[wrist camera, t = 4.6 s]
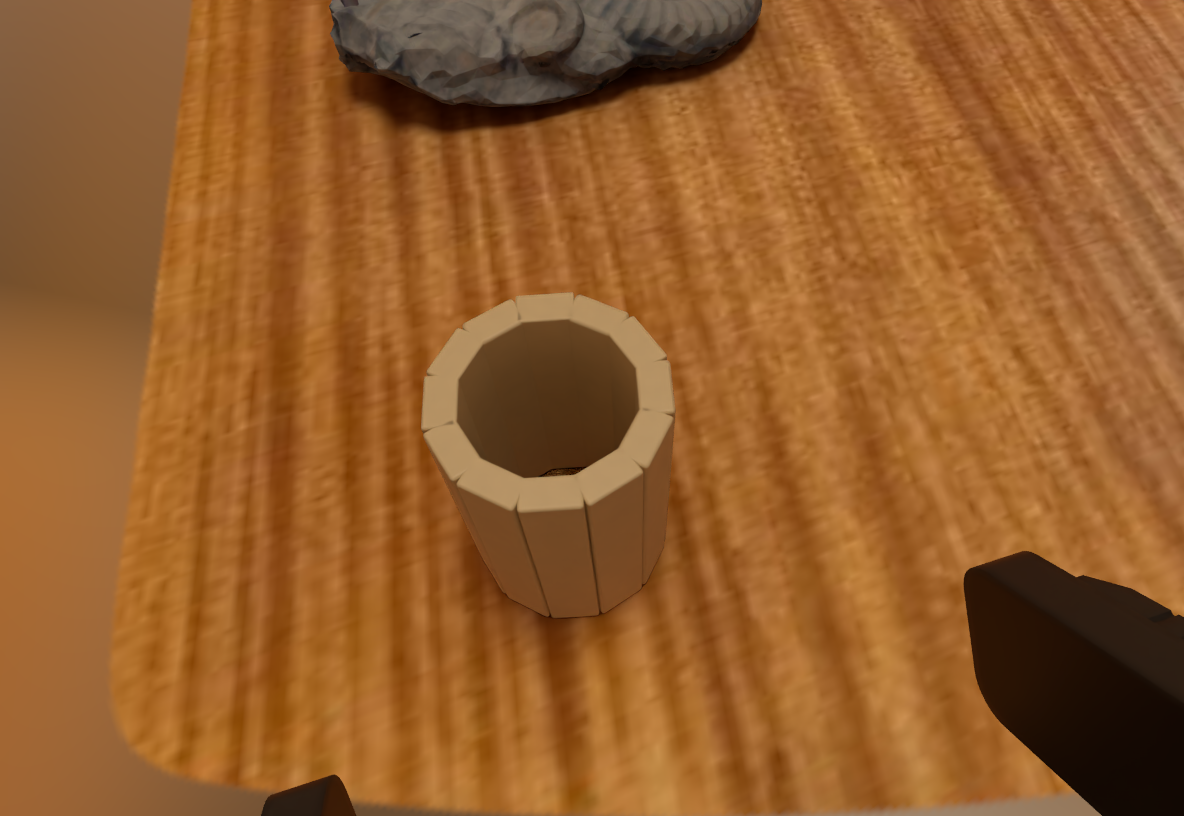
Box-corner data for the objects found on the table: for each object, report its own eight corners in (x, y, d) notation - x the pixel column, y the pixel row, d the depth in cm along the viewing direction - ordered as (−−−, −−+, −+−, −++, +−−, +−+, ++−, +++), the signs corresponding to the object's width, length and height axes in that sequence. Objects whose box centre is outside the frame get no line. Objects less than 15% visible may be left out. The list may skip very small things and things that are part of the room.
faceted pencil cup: (700, 550, 25) (725, 421, 18) (541, 655, 23) (500, 561, 16) (598, 416, 27) (585, 257, 20) (449, 504, 26) (379, 366, 19)
